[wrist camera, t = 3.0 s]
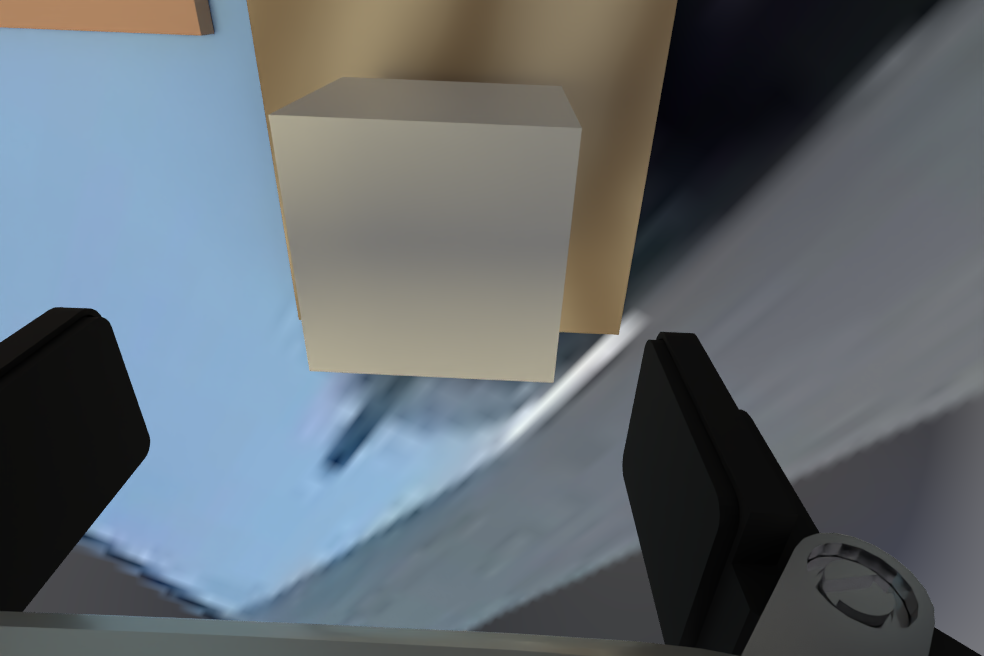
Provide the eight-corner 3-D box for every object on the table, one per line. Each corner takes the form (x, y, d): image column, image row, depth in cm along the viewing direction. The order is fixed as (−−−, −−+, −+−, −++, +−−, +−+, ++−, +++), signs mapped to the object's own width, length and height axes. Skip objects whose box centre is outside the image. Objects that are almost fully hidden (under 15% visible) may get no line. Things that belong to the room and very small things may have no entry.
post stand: (674, -49, 19) (798, -79, 11) (613, 317, 26) (658, 467, 18) (254, -66, 19) (57, -107, 11) (309, 303, 26) (216, 446, 18)
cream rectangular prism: (561, 86, 17) (582, 128, 12) (543, 283, 20) (553, 382, 15) (342, 76, 17) (268, 114, 12) (361, 274, 20) (309, 370, 15)
